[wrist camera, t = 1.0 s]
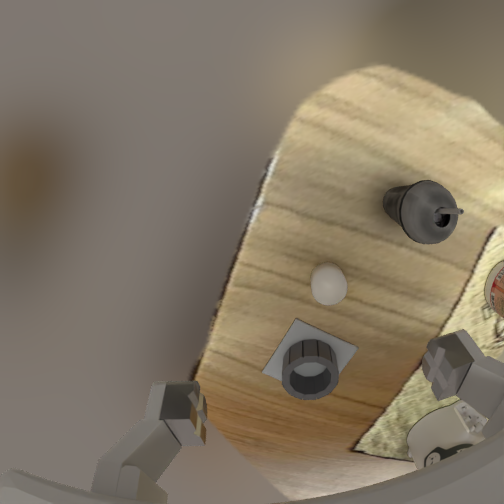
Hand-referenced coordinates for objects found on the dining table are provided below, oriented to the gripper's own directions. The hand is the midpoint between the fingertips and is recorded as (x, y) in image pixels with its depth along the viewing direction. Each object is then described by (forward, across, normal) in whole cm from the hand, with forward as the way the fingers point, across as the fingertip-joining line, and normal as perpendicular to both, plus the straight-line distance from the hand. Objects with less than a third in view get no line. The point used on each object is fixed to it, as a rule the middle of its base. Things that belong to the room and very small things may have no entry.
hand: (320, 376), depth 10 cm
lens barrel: (+29, +4, -32) cm, 43 cm away
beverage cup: (+33, +19, -7) cm, 39 cm away
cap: (+32, +8, -17) cm, 37 cm away
